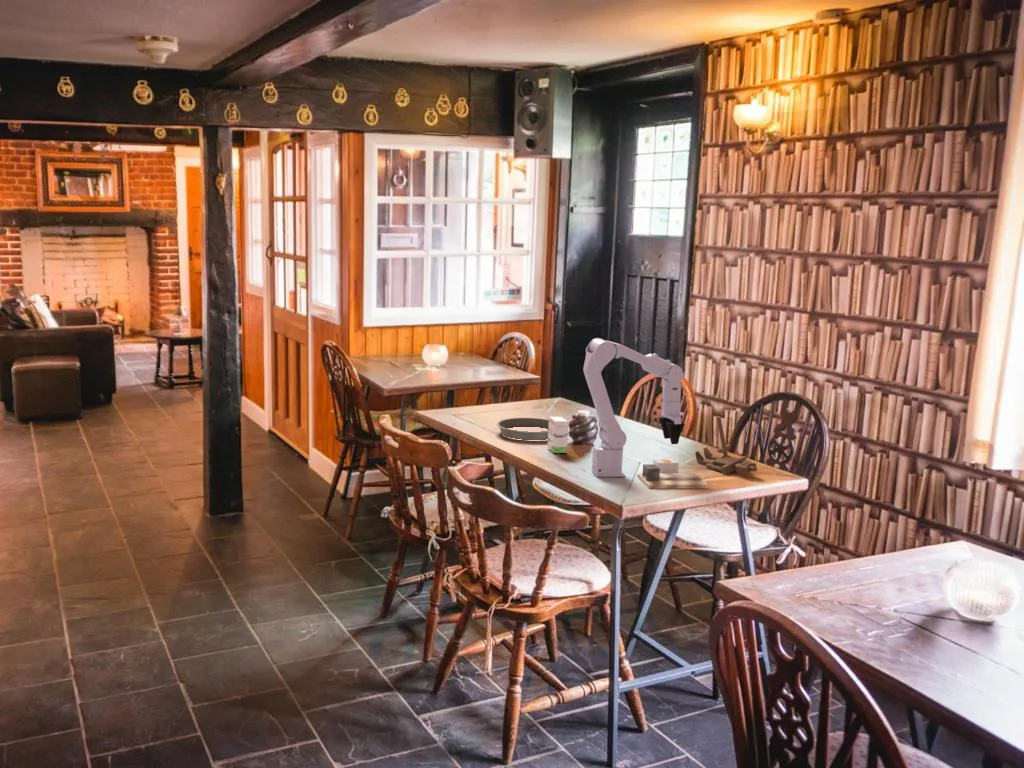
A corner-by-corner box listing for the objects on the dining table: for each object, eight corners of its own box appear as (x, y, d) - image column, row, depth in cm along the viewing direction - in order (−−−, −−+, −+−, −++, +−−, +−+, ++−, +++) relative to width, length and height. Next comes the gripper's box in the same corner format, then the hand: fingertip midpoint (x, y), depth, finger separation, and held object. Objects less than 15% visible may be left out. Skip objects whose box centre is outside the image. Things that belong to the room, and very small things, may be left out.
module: (657, 474, 309) (658, 462, 308) (652, 470, 314) (653, 458, 313) (677, 474, 310) (678, 462, 309) (673, 470, 315) (674, 458, 314)
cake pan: (483, 432, 360) (484, 421, 359) (534, 426, 375) (534, 415, 374) (523, 446, 341) (524, 434, 340) (575, 439, 356) (575, 427, 355)
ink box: (567, 454, 331) (569, 421, 329) (553, 454, 330) (555, 421, 328) (559, 448, 339) (561, 416, 337) (546, 448, 338) (548, 416, 336)
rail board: (648, 488, 292) (649, 471, 291) (637, 476, 305) (638, 461, 304) (707, 488, 295) (709, 472, 294) (694, 477, 307) (695, 461, 306)
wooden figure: (708, 412, 328) (762, 419, 307) (717, 459, 332) (771, 470, 311) (677, 425, 321) (730, 434, 300) (687, 474, 325) (740, 486, 304)
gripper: (690, 404, 301) (689, 445, 303) (676, 395, 315) (676, 435, 317) (668, 405, 300) (668, 446, 302) (655, 396, 314) (655, 436, 317)
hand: (671, 441), depth 310 cm, fingers open, 7 cm apart
